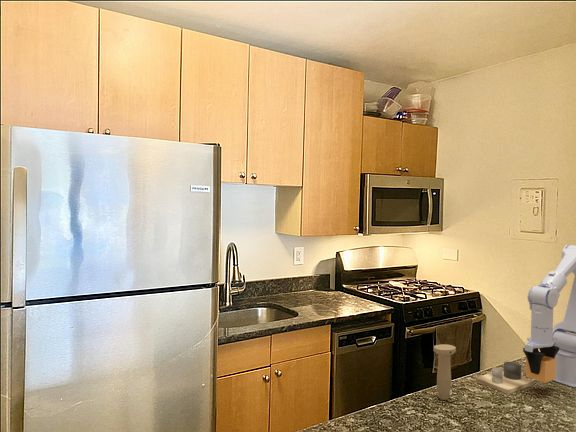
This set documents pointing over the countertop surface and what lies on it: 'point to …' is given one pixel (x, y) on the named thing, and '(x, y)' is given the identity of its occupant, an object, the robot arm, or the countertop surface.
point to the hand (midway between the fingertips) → (540, 371)
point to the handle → (444, 369)
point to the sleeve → (543, 370)
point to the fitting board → (506, 378)
